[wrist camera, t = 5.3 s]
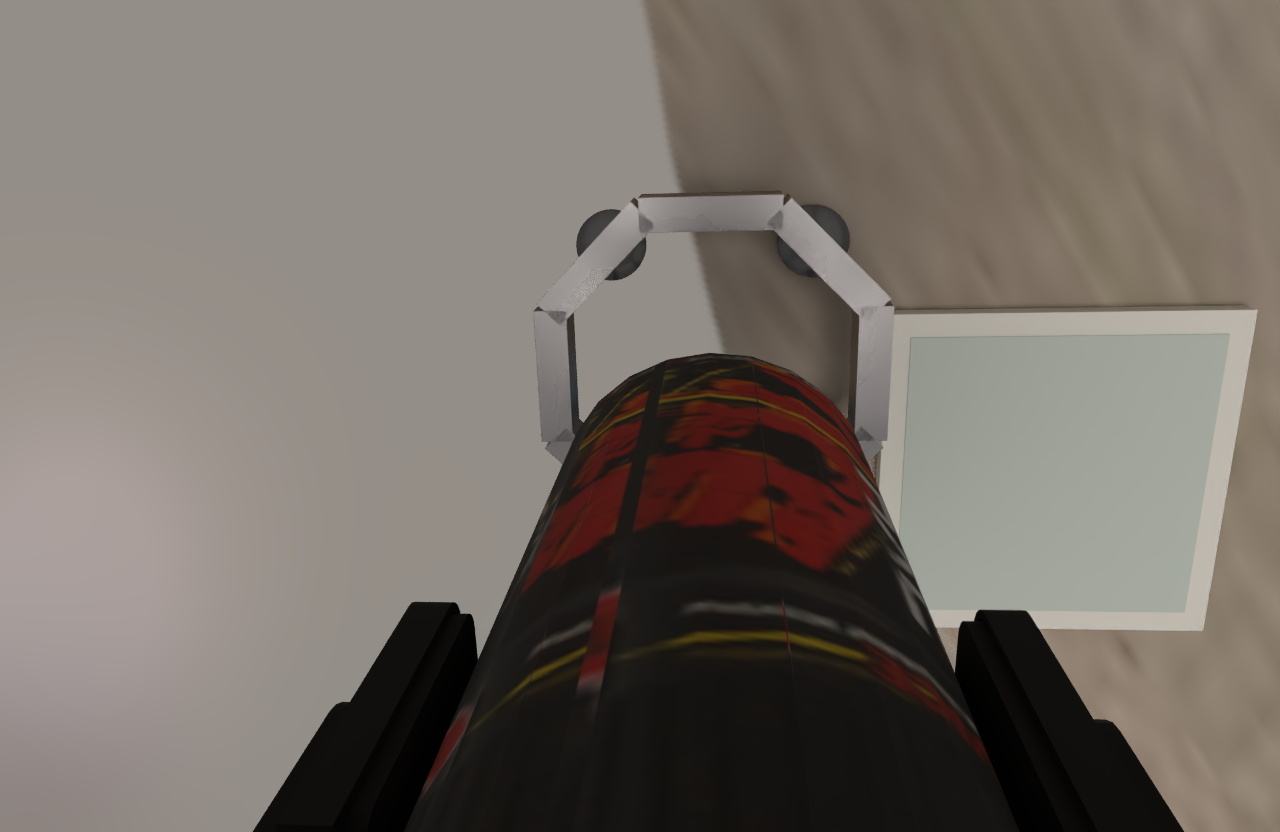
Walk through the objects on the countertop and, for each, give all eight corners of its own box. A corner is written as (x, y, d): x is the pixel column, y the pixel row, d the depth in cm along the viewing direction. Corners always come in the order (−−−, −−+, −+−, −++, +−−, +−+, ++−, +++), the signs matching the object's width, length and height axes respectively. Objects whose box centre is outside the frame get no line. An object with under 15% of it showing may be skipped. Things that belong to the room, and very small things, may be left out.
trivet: (884, 310, 33) (888, 315, 32) (1244, 305, 32) (1259, 310, 31) (868, 615, 36) (872, 627, 35) (1192, 619, 35) (1204, 632, 34)
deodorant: (938, 496, 18) (1869, 2172, 3) (720, 689, 19) (724, 2337, 5) (706, 285, 17) (632, 1352, 2) (499, 507, 18) (-253, 1895, 4)
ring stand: (554, 188, 32) (526, 200, 27) (872, 181, 31) (900, 191, 27) (570, 481, 35) (547, 536, 31) (859, 481, 35) (882, 538, 30)
